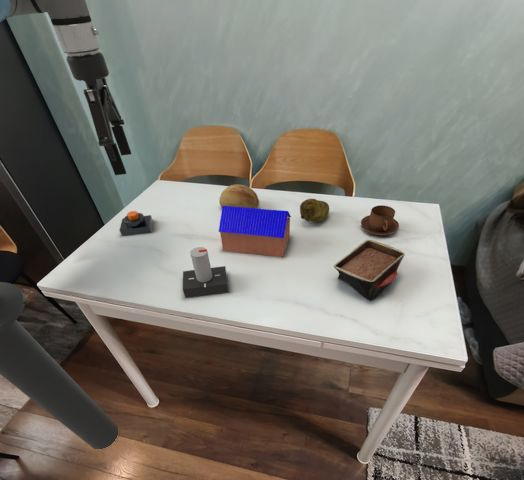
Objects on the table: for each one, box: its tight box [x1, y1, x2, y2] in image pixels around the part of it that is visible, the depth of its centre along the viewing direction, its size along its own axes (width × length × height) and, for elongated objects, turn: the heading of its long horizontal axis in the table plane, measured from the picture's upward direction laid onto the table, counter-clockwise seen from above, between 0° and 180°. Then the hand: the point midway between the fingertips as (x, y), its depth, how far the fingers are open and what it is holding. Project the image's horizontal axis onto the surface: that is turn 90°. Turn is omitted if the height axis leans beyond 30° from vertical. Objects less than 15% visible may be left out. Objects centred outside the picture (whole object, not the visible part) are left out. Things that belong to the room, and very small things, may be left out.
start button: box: [126, 210, 139, 221], centre depth 104 cm, size 4×4×2 cm
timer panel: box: [182, 265, 230, 299], centre depth 85 cm, size 12×9×3 cm
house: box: [218, 206, 292, 258], centre depth 94 cm, size 12×20×12 cm, turn 76°
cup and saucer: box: [360, 205, 400, 236], centre depth 99 cm, size 12×12×6 cm
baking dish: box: [333, 239, 406, 302], centre depth 82 cm, size 14×18×10 cm
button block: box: [119, 212, 154, 237], centre depth 106 cm, size 10×8×4 cm
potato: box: [299, 198, 330, 223], centre depth 103 cm, size 8×13×8 cm, turn 118°
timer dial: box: [189, 246, 212, 282], centre depth 81 cm, size 4×4×8 cm
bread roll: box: [218, 183, 260, 209], centre depth 111 cm, size 10×15×8 cm, turn 81°
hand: (123, 163), depth 81 cm, fingers open, 13 cm apart
